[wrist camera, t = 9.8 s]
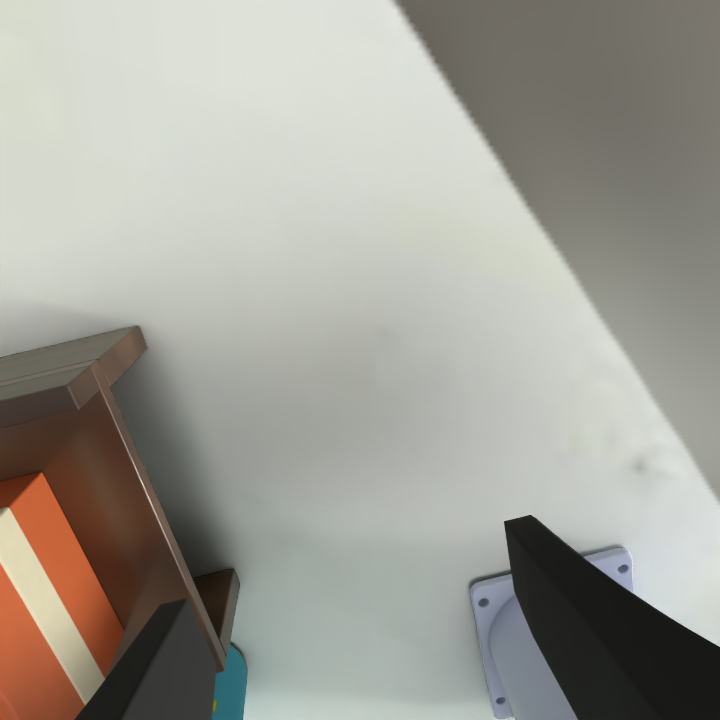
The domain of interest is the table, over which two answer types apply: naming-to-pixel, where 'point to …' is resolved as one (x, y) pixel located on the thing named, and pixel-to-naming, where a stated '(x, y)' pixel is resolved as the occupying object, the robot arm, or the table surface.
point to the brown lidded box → (104, 481)
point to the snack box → (48, 609)
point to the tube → (230, 688)
